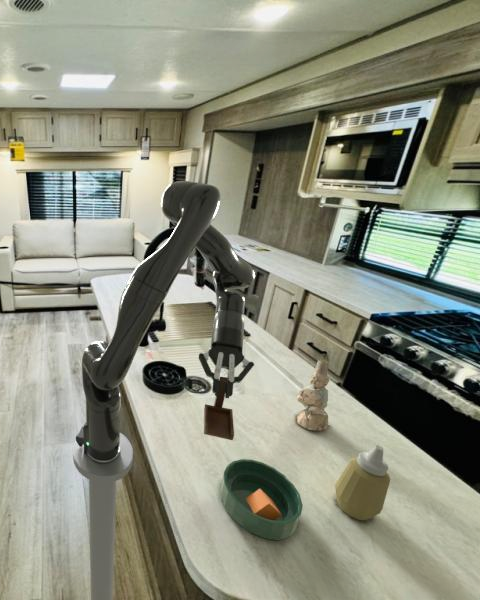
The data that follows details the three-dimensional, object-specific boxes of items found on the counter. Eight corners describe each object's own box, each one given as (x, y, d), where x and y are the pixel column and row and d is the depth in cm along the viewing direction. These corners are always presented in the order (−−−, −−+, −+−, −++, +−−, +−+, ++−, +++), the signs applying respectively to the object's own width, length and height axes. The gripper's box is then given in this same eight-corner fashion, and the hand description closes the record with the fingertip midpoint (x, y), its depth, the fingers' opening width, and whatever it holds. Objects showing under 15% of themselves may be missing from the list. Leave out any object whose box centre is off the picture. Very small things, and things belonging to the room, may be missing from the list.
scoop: (204, 405, 85) (209, 374, 78) (230, 410, 83) (238, 379, 76) (203, 434, 78) (209, 403, 71) (232, 440, 76) (241, 409, 69)
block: (259, 488, 68) (269, 503, 65) (271, 499, 69) (282, 515, 65) (245, 498, 69) (254, 514, 65) (257, 510, 70) (266, 526, 66)
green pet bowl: (221, 524, 67) (224, 507, 65) (220, 467, 80) (223, 451, 78) (303, 553, 62) (310, 535, 60) (288, 487, 75) (293, 470, 73)
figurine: (306, 409, 99) (323, 356, 92) (334, 428, 92) (355, 371, 84) (286, 417, 96) (302, 362, 89) (314, 437, 89) (334, 379, 81)
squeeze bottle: (325, 486, 75) (347, 428, 68) (367, 497, 72) (394, 438, 66) (337, 518, 68) (363, 457, 61) (384, 532, 65) (416, 470, 59)
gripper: (201, 322, 82) (192, 388, 76) (260, 330, 77) (256, 401, 71) (199, 331, 88) (192, 392, 82) (254, 339, 83) (250, 405, 77)
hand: (221, 396), depth 77 cm, fingers closed on scoop
